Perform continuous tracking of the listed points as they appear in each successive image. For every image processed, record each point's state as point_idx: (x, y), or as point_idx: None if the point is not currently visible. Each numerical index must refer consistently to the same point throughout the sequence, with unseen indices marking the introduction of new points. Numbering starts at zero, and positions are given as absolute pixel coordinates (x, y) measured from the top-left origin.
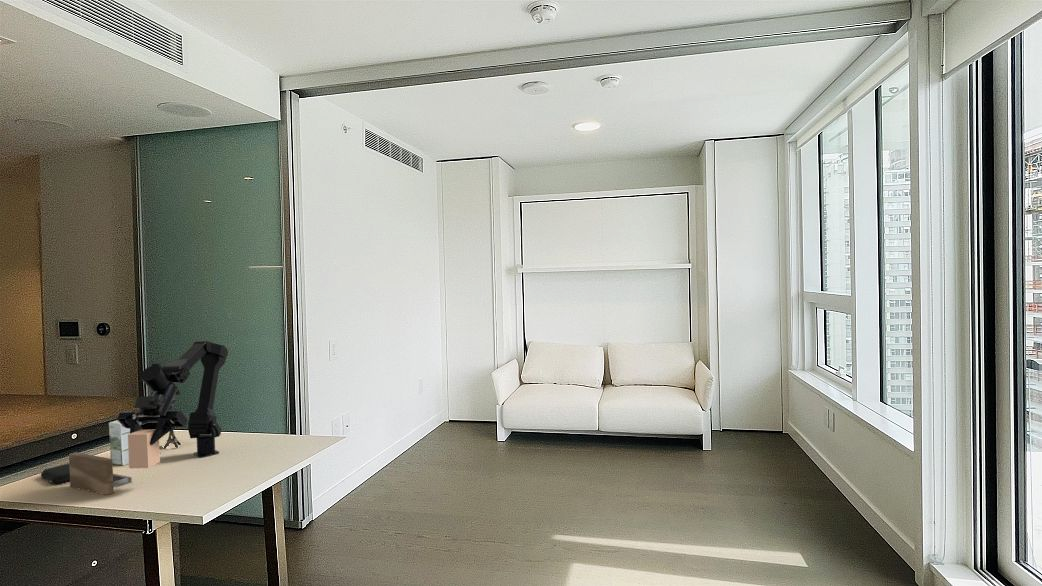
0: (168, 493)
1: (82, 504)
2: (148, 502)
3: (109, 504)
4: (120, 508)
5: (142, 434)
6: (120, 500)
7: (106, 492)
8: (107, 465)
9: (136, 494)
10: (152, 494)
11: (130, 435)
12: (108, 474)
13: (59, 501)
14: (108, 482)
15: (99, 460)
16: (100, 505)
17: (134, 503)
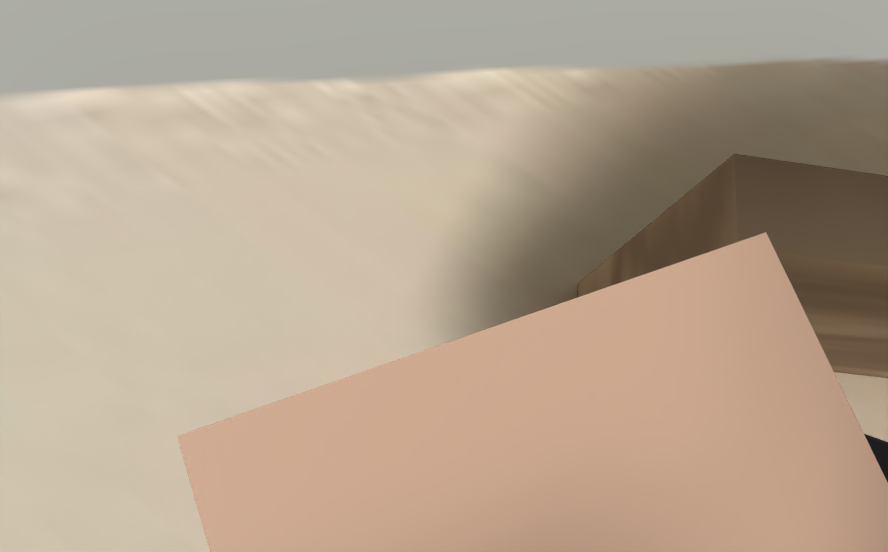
0: (6, 496)
1: (551, 90)
2: (9, 254)
3: (334, 137)
4: (149, 94)
5: (333, 384)
6: (329, 226)
7: (585, 278)
8: (699, 209)
9: (326, 375)
10: (161, 422)
11: (683, 265)
12: (648, 252)
13: (783, 96)
14: (615, 274)
15: (848, 173)
16: (387, 106)
17: (128, 204)
